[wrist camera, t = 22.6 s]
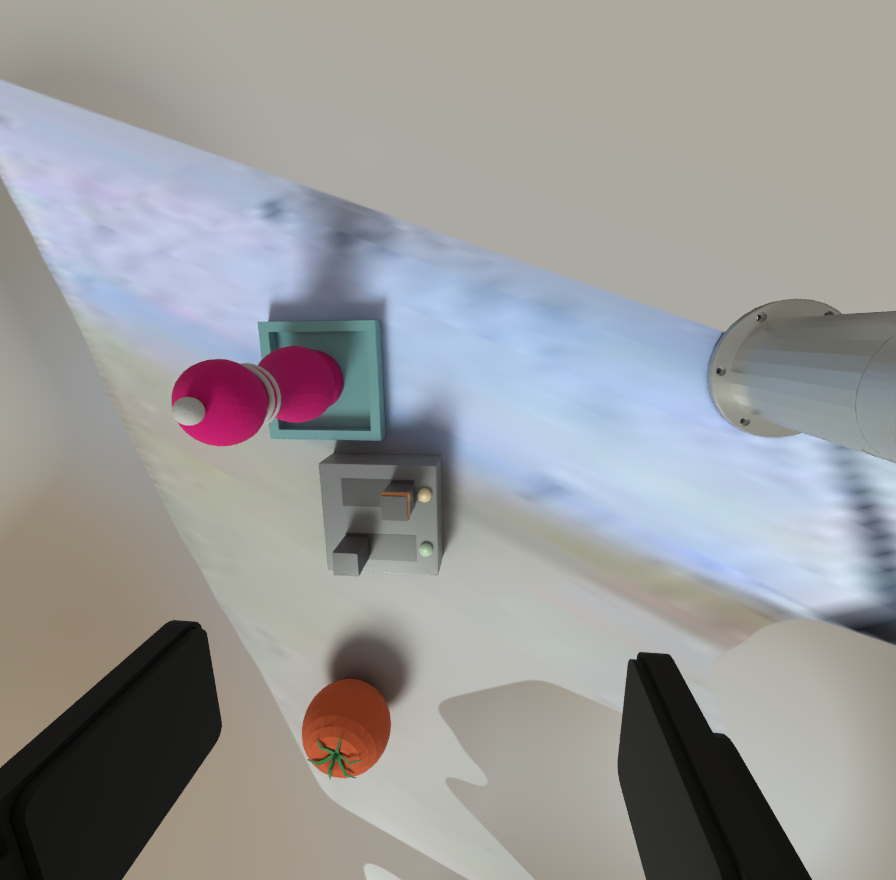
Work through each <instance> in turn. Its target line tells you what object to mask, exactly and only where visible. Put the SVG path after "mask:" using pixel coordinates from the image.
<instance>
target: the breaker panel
mask: <svg viewBox="0 0 896 880" xmlns="http://www.w3.org/2000/svg"><path fill="white" fill-rule="evenodd" d="M319 470H320V482H321V493H322V505H323V517H324V528H325V540H326V552H327V563H328V570H333V558H332V552H333V551H334V550H335V548H336V547H337V546H338V544H339V543H340V542H341V540H342V539H343V538H344V536H359V537H368V543H369V559H368V561H367V563H366V564H365V566H364V568H363V570H362V571H361V572H380V573H399V574H418V575H437V576H438V574H439V570H440V566H441V561H442V557H443V541H442V474H441V455H407V454H358V453H333V454H331V455H330V456H329V457H327V458H326V459H325V460H323V461H322V462H320V463H319ZM389 483H408V484H414V492H415V507H414V509H413V511H412V513H411V515H410V519H409V521H389V520H381V503H380V494H381V493H382V492H383V491H384V490H385V489H386V487H387V486H388V485H389Z"/></svg>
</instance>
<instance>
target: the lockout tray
mask: <svg viewBox="0 0 896 880" xmlns="http://www.w3.org/2000/svg"><path fill="white" fill-rule="evenodd" d="M258 329H259V338H260V347H261V356H262V359H263V358H264V357H265V356H267V355H268V354H269V353H271V352H273V351H274V350H276V349H279V348H283V347H287V346H301V347H306V348H308V349H310V350H319V351H322V352H325V353H327V354H328V355H330V356H331V357H332V358H333V359H335V361H336V362H337V363H338V365H339V366H340V368H341V371H342V374H343V378H344V386H343V391H342V393H341V396H340V397H339V399H338V400H337V401H336V402H335V403H334V404H333V405H331V406H330V407H328V409H327V410H326V411H325V412H324V413H323V414H322V415H320V416H319V417H317V418H315V419H312V420H309V421H305V422H299V423H294V422H287V421H283V420H279V419H277V418H274V420H273V421H272V422H270V423H269V427H270V436H271V439H313V440H371V441H381V440H382V439H383V438H384V437H385V436H386V430H385V409H384V387H383V366H382V344H381V323H380V321H378V320H350V321H283V322H258Z"/></svg>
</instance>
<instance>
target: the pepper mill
mask: <svg viewBox="0 0 896 880" xmlns="http://www.w3.org/2000/svg"><path fill="white" fill-rule="evenodd" d="M343 386H344V378H343V374H342V371H341V368H340V366H339V365H338V363H337V362H336V361H335V359H333V358H332V357H331V356H330V355H328V354H327V353H325V352H322V351H319V350H310V349H308V348H306V347H301V346H287V347H283V348H279V349H276V350H274V351H273V352H271V353H269V354H268V355H267V356H265V357H264V358H263V359H262V360H261V362H260V363H259V364H258V366H257V365H254V364H249V363H243V364H239V363H236V362H233V361H229V360H225V359H214V360H206V361H203V362H199V363H197V364H195V365H193V366H191V367H189V368H188V369H187V370H185V371H184V372H183V373H182V374H181V376H180V377H179V378H178V380H177V381H176V383H175V386H174V388H173V392H172V414H173V417H174V418H175V420H176V421H177V422H178V423H179V425H180V426H181V427H182V429H183V430H184V431H185V432H186V433H188V434H189V435H190V436H191V437H193V438H194V439H196V440H198V441H200V442H202V443H205V444H209V445H214V446H230V445H235V444H239V443H241V442H243V441H246V440H247V439H249V438H251V437H252V436H254V435H255V434H256V433H257V432H258V431H259V429H260V428H261V427H263V426H265V425H267V424H269V423H270V422H272V421H273V420H274V418H277V419H279V420H283V421H287V422H294V423H299V422H305V421H309V420H312V419H315V418H317V417H319V416H320V415H322V414H323V413H324V412H325V411H326V410H327V409H328V407H330V406H331V405H333V404H334V403H335V402H336V401H337V400H338V399H339V397H340V396H341V393H342V391H343Z"/></svg>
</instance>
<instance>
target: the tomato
mask: <svg viewBox="0 0 896 880" xmlns="http://www.w3.org/2000/svg"><path fill="white" fill-rule="evenodd" d="M390 728H391V720H390V713H389V709H388V707H387V704H386V701H385V699H384V698H383V696H382V695H381V694H380V692H379V691H378V690H377V689H376V688H375V687H373V686H372V685H371V684H368V683H366V682H364V681H362V680H358V679H343V680H339V681H336V682H333V683H331V684H329V685H328V686H326V687H325V688H323V689H322V690H321V691H320V692H319V693H318V694H317V695H316V696H315V697H314V699H313V700H312V702H311V703H310V705H309V707H308V709H307V711H306V714H305V717H304V720H303V726H302V740H303V746H304V750H305V752H306V754H307V756H308V757H309V759H308V760H309V761H310V762H312V764H313V765H314V766H315V767H317V768H318V769H319V770H320V771H321V772H323V773H325V774H328V775H329V778H330V779H331V776H332V777H338V778H348V777H352V778H356V777H353V776H357V775H360V774H362V773H364V772H366V771H367V770H368V769H370V768H371V767H372V766H373V765H374V764H375V763H376V762H377V761H378V760H379V758H380V757H381V755H382V754H383V752H384V750H385V748H386V745H387V743H388V740H389V736H390Z"/></svg>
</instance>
